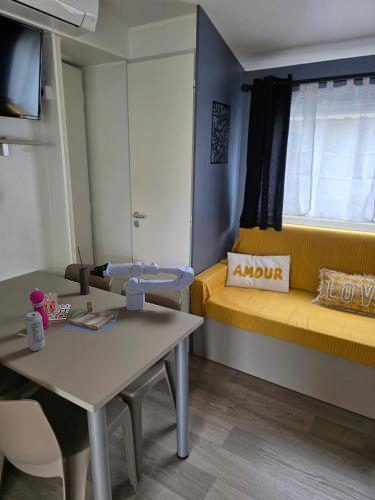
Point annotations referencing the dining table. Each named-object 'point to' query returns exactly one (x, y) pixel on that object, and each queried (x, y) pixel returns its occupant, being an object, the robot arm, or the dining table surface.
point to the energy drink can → (35, 331)
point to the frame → (91, 318)
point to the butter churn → (83, 279)
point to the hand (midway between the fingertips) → (92, 271)
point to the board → (79, 328)
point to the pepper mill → (39, 306)
